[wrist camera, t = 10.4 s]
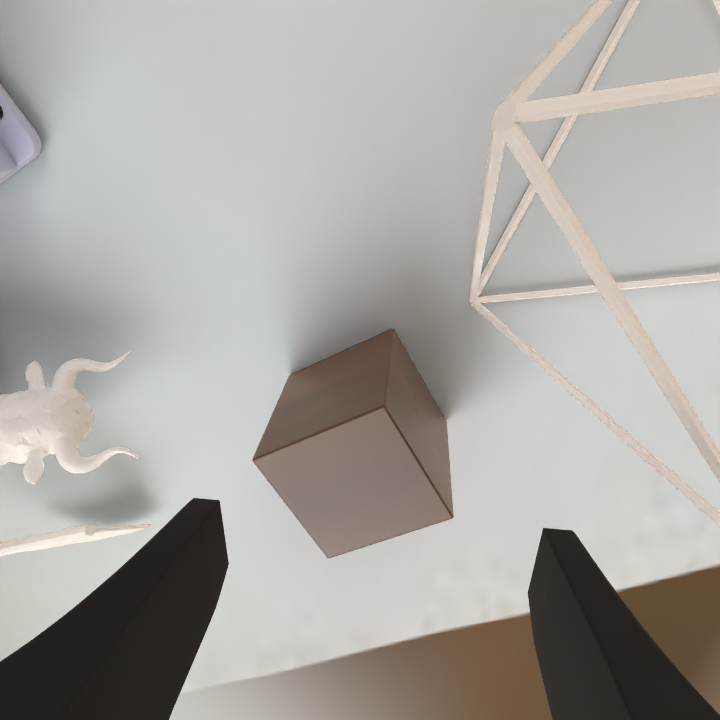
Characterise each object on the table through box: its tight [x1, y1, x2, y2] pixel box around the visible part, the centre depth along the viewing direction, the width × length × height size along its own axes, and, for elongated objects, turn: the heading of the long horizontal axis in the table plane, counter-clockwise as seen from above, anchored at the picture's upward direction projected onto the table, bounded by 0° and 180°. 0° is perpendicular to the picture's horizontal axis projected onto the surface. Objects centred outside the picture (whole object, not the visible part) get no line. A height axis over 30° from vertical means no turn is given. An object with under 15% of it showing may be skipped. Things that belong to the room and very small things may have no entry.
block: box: [253, 329, 453, 558], centre depth 18 cm, size 4×4×5 cm
